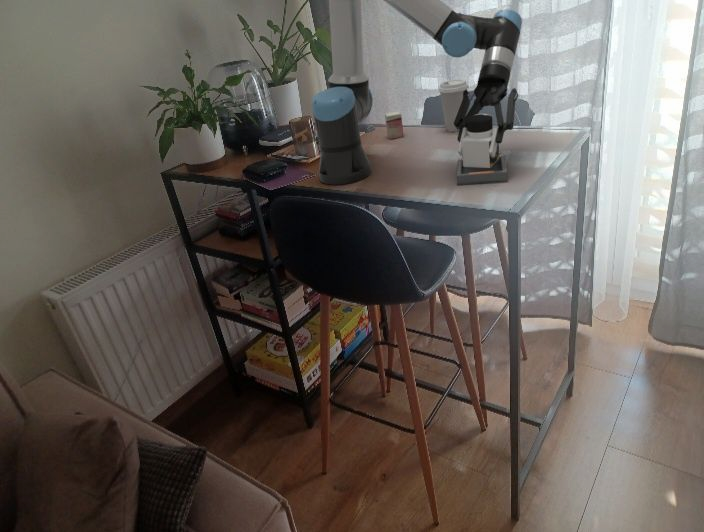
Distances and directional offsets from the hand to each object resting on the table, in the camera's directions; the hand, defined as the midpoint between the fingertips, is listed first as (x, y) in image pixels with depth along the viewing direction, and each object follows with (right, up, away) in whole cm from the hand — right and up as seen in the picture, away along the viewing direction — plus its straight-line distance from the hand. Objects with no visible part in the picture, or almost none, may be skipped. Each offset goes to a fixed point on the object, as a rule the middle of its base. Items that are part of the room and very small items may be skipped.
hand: (475, 154), depth 128 cm
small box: (-16, +16, +48) cm, 53 cm away
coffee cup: (+4, +18, +45) cm, 48 cm away
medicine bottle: (+2, -2, +4) cm, 5 cm away
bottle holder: (+3, -4, +6) cm, 7 cm away
